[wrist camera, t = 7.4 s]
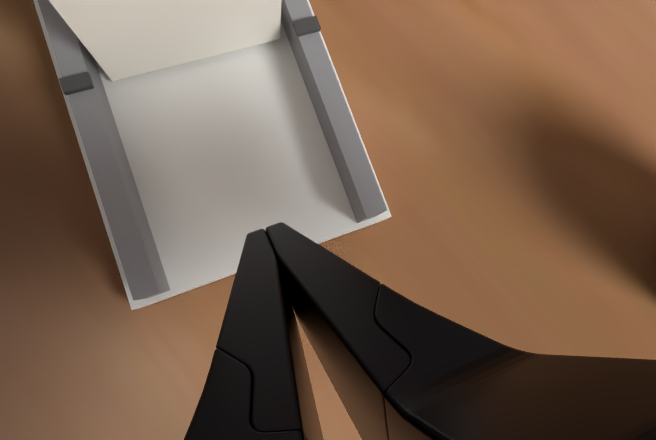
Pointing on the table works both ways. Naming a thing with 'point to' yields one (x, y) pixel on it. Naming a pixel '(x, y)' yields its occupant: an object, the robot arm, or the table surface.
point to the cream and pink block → (167, 30)
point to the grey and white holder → (215, 152)
